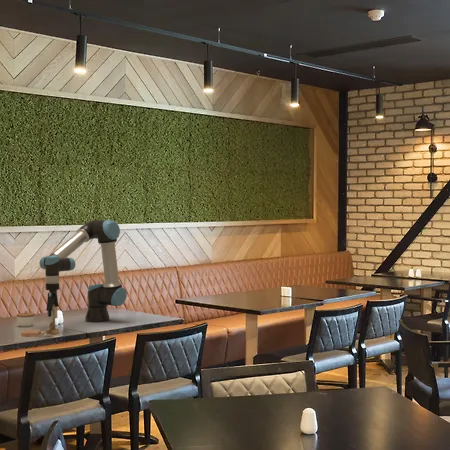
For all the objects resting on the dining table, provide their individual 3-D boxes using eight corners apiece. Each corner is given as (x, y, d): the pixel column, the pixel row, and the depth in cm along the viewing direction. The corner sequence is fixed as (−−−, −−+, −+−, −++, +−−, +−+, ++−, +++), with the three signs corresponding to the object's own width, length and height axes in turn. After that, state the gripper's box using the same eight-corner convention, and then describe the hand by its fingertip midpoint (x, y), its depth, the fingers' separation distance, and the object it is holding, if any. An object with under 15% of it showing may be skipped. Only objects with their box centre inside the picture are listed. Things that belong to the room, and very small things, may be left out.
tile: (41, 329, 417) (37, 333, 406) (41, 332, 418) (37, 336, 407) (25, 329, 417) (20, 333, 406) (25, 333, 417) (20, 336, 406)
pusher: (58, 332, 418) (58, 304, 417) (56, 334, 412) (56, 305, 411) (48, 332, 417) (48, 304, 417) (46, 334, 411) (45, 305, 411)
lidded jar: (18, 325, 446) (18, 310, 445) (36, 325, 446) (36, 309, 446) (15, 328, 435) (14, 312, 435) (33, 328, 436) (33, 312, 436)
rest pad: (62, 333, 419) (62, 332, 419) (59, 336, 410) (59, 335, 410) (46, 333, 419) (46, 332, 419) (42, 336, 410) (42, 335, 410)
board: (46, 331, 423) (46, 331, 423) (39, 337, 405) (39, 336, 405) (25, 332, 423) (25, 331, 423) (17, 337, 405) (17, 337, 405)
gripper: (50, 280, 426) (50, 316, 427) (40, 285, 401) (41, 323, 402) (63, 280, 426) (63, 316, 427) (54, 285, 401) (54, 323, 402)
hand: (52, 320), depth 414 cm, fingers open, 13 cm apart
